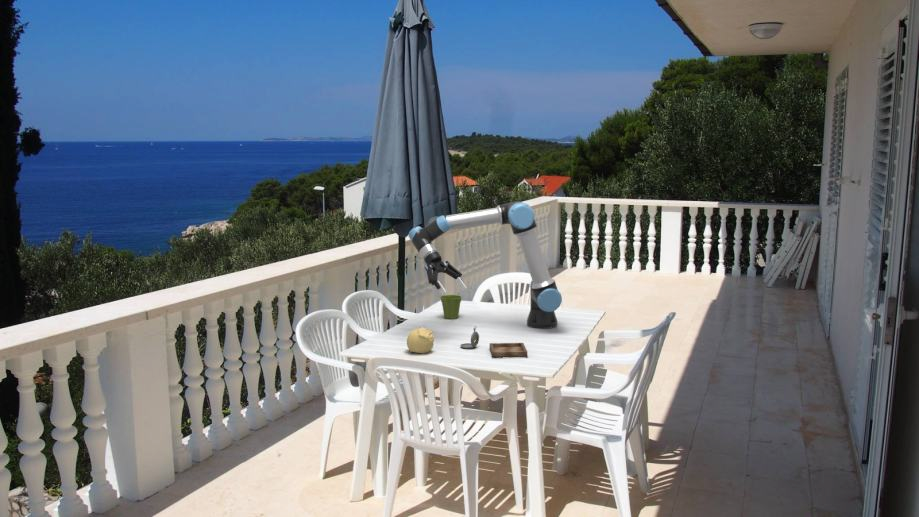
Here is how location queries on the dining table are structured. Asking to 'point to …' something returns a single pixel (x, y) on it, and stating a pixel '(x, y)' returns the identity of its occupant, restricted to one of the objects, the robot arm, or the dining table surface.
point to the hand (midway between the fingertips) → (454, 291)
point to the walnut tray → (508, 350)
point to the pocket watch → (472, 340)
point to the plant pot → (451, 305)
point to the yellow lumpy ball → (420, 340)
